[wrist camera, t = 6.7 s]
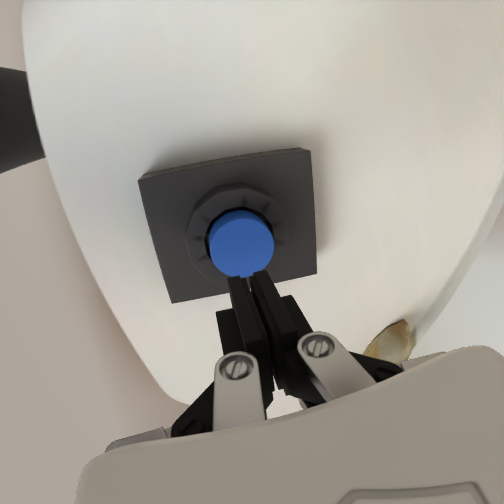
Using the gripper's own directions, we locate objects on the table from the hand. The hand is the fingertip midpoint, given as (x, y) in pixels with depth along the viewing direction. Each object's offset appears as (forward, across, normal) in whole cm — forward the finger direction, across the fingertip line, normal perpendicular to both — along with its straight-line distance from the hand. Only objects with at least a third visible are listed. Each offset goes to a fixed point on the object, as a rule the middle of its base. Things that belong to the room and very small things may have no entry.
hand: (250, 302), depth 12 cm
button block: (+12, -1, +1) cm, 12 cm away
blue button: (+8, -1, +1) cm, 8 cm away
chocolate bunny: (+11, -17, +20) cm, 28 cm away
